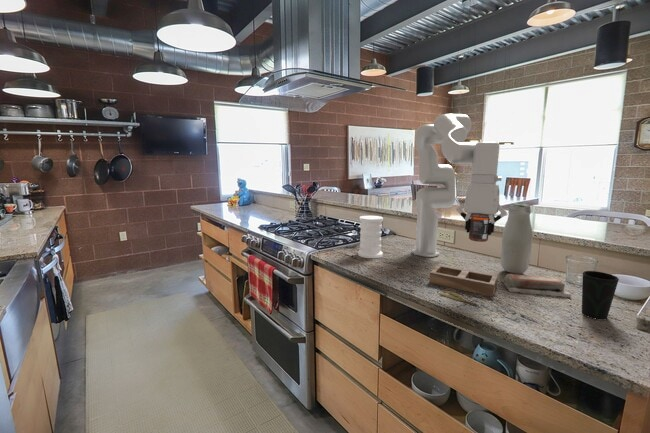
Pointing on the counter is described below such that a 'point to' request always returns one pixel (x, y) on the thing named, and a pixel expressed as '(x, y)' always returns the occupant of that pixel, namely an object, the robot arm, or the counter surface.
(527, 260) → the glass bottle
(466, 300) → the tongs
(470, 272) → the rack
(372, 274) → the counter surface
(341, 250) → the counter surface
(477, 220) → the supplement bottle
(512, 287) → the packaged product
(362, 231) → the decorative container
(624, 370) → the counter surface
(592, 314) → the cup
